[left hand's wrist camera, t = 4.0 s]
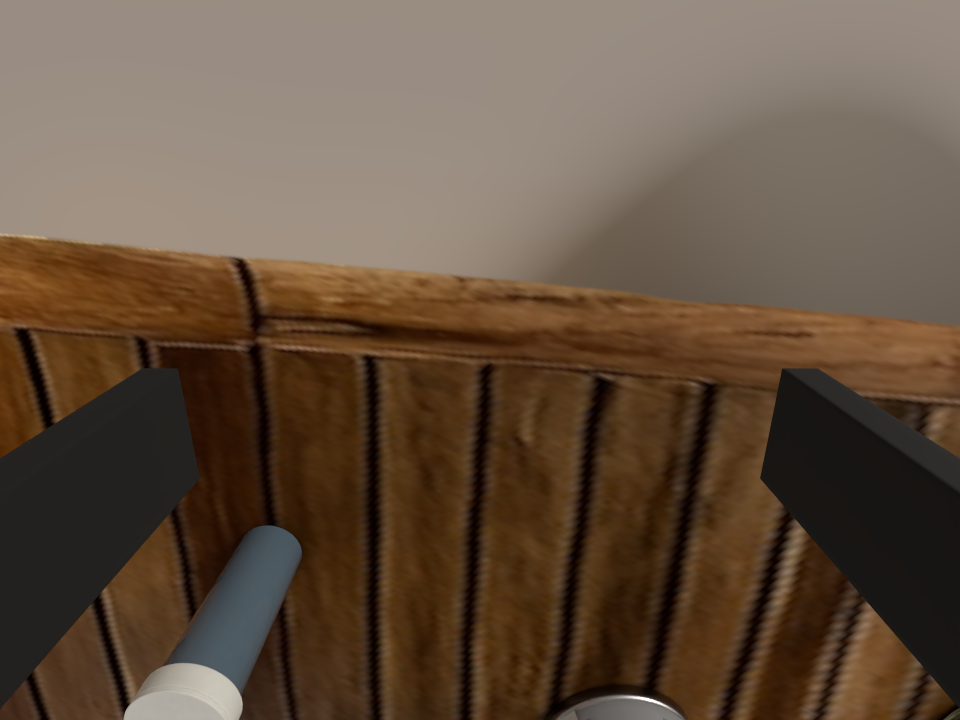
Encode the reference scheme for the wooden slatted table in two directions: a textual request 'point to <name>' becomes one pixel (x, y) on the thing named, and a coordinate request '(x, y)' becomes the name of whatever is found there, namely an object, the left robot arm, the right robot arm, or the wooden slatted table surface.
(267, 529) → the jar
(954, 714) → the fossil
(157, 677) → the lid
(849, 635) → the wooden slatted table surface
